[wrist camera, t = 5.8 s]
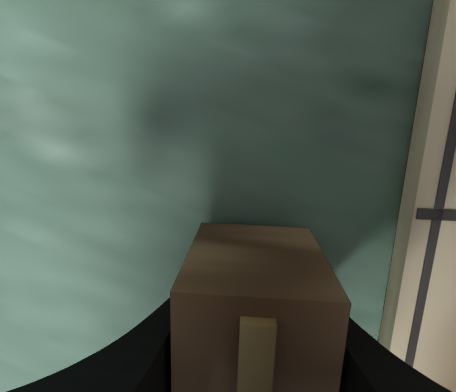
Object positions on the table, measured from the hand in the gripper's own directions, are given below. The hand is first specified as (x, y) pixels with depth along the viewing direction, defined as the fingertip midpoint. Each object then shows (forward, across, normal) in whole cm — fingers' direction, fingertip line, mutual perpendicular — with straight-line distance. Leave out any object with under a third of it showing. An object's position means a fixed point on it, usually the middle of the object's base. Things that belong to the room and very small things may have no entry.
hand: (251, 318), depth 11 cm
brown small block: (+1, 0, 0) cm, 1 cm away
